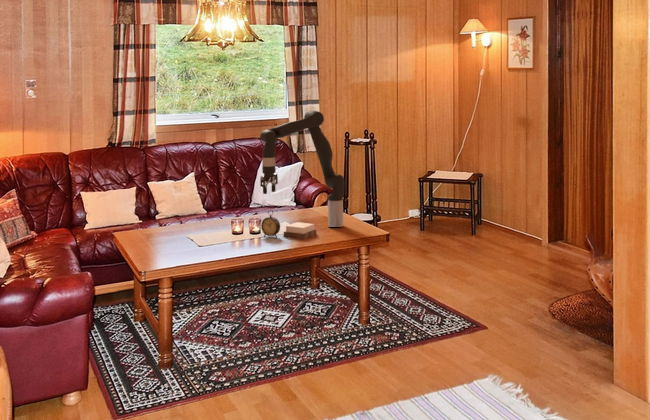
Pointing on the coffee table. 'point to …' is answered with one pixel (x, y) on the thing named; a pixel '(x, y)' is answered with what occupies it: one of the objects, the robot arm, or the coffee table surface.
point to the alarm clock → (270, 226)
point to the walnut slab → (298, 235)
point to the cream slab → (300, 227)
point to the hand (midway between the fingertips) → (269, 192)
